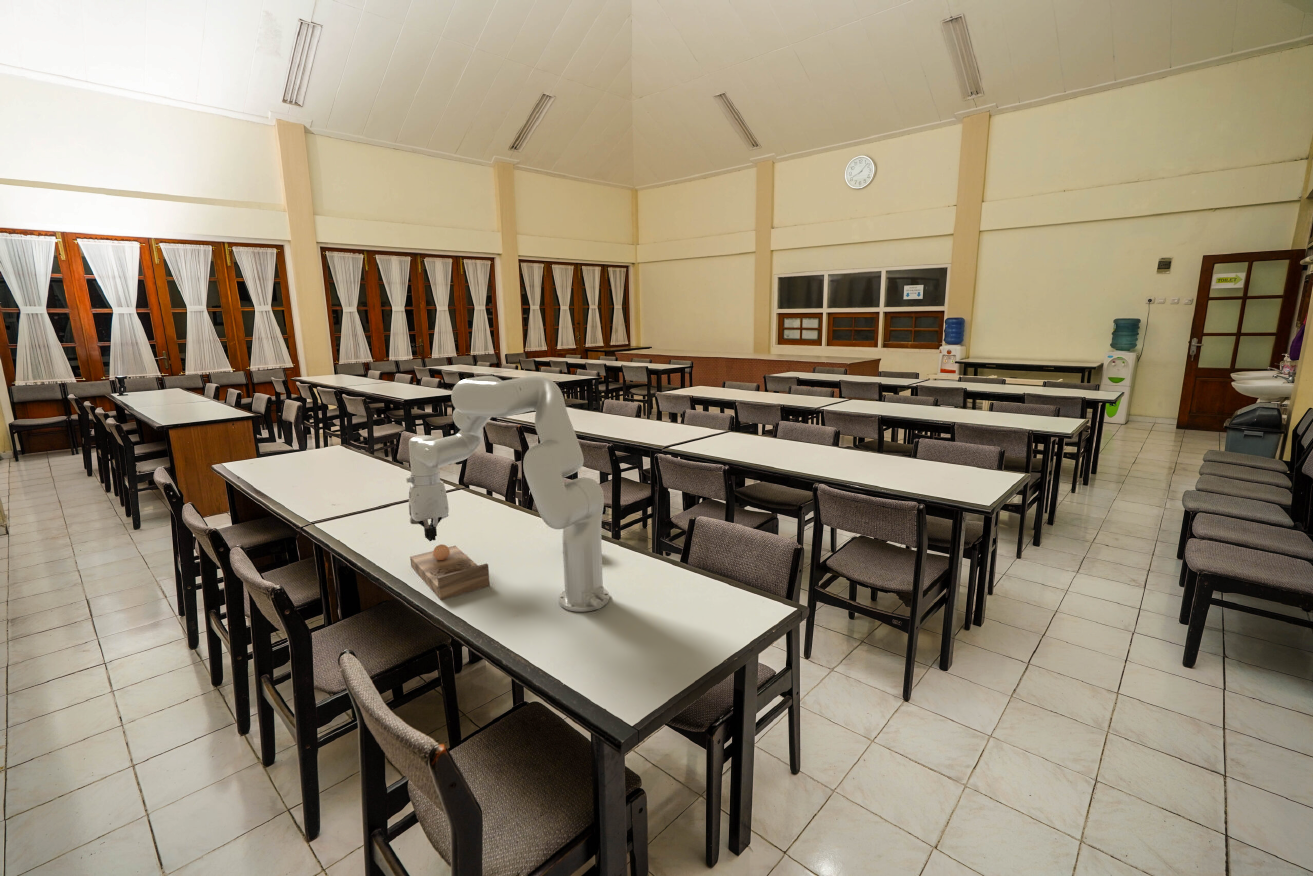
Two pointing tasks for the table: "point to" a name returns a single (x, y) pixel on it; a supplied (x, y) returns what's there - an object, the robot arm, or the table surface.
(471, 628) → the table surface
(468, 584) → the brown piece
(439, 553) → the ball
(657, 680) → the table surface
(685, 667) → the table surface
